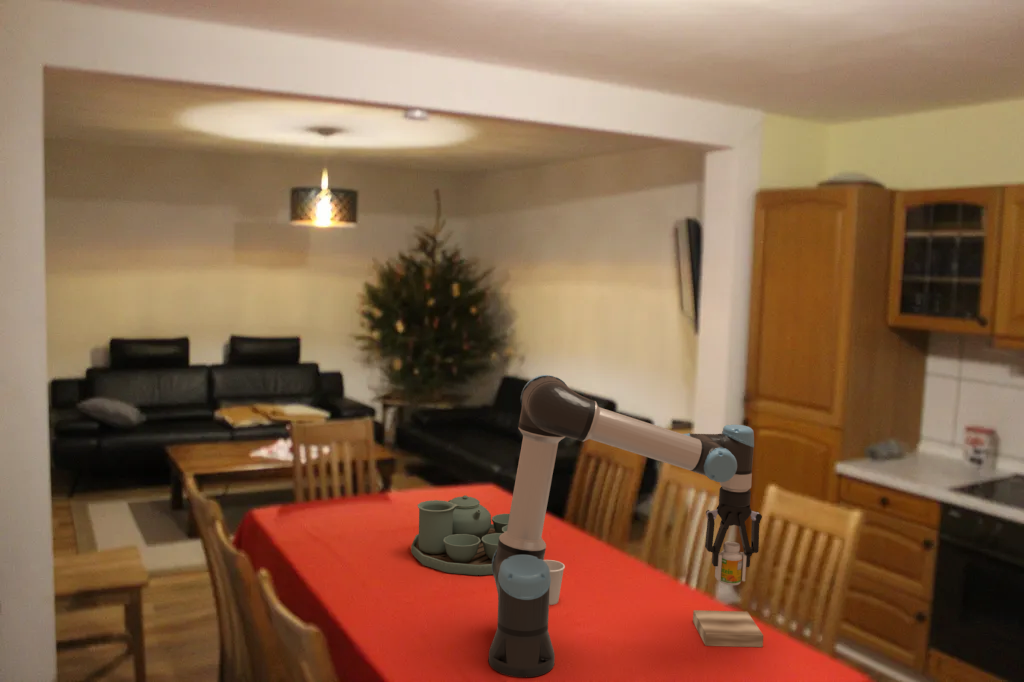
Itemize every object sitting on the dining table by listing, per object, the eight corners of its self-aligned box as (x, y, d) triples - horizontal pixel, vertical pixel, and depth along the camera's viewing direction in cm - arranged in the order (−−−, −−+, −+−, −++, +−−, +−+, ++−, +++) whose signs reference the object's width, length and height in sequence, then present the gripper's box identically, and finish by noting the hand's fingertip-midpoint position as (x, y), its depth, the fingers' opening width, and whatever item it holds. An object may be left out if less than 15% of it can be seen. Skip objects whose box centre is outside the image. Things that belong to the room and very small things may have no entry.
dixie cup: (537, 608, 231) (539, 571, 230) (528, 595, 239) (530, 560, 238) (567, 605, 233) (569, 569, 232) (557, 593, 241) (559, 558, 240)
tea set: (487, 588, 244) (488, 530, 243) (385, 555, 268) (386, 502, 266) (564, 551, 276) (566, 501, 274) (467, 525, 300) (468, 478, 298)
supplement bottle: (714, 581, 217) (716, 544, 216) (724, 576, 221) (726, 539, 220) (734, 587, 214) (737, 549, 213) (744, 581, 218) (746, 544, 217)
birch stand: (762, 647, 212) (763, 635, 212) (705, 645, 212) (706, 633, 211) (746, 622, 226) (747, 611, 225) (692, 621, 226) (693, 610, 225)
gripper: (767, 484, 219) (762, 574, 221) (694, 482, 219) (689, 572, 221) (777, 493, 211) (771, 585, 214) (701, 491, 211) (696, 583, 213)
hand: (729, 578), depth 217 cm, fingers closed on supplement bottle, 5 cm apart
